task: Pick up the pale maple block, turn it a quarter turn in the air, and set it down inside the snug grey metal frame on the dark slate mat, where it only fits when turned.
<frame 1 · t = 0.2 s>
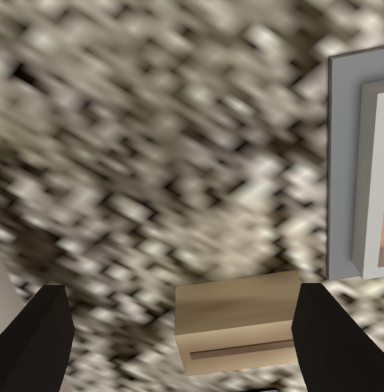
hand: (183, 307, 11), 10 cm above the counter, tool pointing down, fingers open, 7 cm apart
maple block: (237, 297, 25), on the counter
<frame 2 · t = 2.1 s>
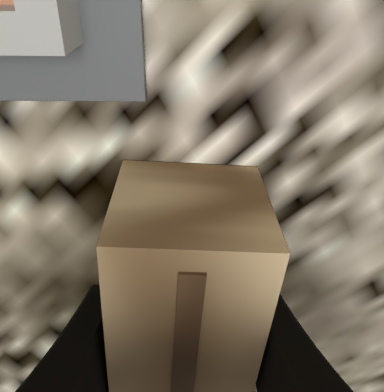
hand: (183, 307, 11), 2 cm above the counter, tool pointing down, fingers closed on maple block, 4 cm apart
maple block: (183, 264, 13), on the counter, touching gripper
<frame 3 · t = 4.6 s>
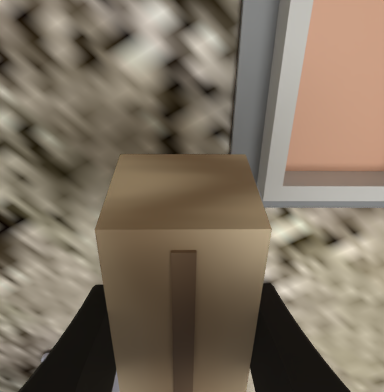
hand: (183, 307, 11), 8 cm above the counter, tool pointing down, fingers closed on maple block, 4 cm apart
maple block: (183, 251, 14), point 6 cm above the counter, touching gripper
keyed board: (351, 67, 16), on the counter
when the fingers open (3 cm above the counter, at t = 7.6 s): maple block stays where it is, resting on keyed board.
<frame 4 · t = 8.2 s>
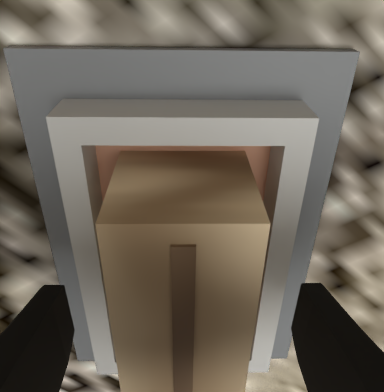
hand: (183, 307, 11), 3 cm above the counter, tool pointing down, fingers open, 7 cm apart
maple block: (182, 247, 14), resting on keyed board
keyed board: (183, 238, 14), on the counter
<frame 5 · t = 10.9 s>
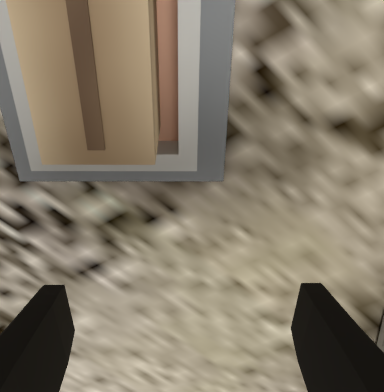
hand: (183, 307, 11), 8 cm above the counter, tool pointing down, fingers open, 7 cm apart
maple block: (106, 27, 14), resting on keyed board
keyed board: (108, 24, 15), on the counter
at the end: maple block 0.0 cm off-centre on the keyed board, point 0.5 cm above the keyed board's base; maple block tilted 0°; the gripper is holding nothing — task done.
